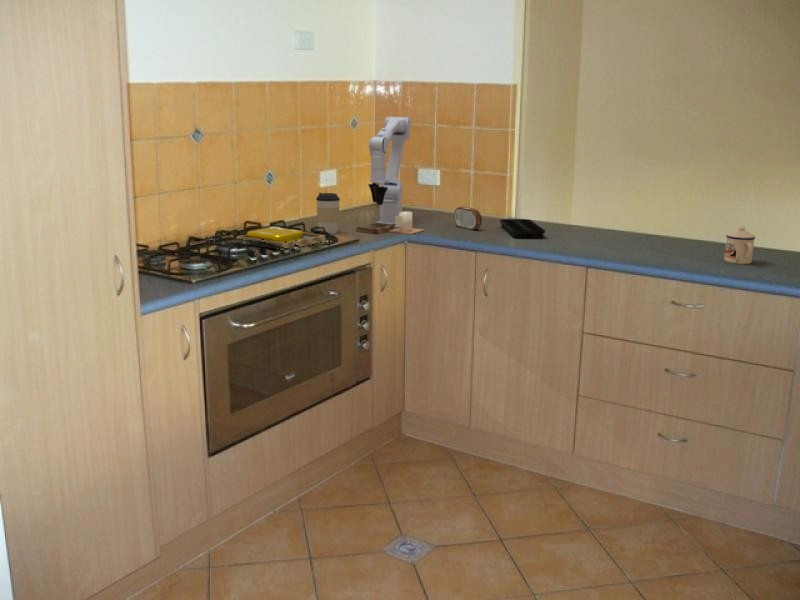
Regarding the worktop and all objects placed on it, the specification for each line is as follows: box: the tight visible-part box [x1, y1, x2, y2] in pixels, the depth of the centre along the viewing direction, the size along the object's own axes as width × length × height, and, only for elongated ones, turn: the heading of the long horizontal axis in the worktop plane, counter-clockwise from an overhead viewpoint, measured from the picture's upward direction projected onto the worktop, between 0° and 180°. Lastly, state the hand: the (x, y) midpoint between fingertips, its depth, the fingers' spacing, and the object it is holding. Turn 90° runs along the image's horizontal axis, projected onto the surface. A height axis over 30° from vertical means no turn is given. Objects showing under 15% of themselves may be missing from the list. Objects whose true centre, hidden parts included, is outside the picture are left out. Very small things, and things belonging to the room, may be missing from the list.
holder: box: [356, 223, 394, 235], centre depth 334 cm, size 11×9×2 cm
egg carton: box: [499, 218, 546, 240], centre depth 338 cm, size 18×30×4 cm, turn 16°
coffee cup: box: [315, 192, 341, 235], centre depth 327 cm, size 9×9×15 cm
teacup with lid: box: [723, 226, 756, 265], centre depth 287 cm, size 12×9×12 cm
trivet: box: [388, 227, 426, 236], centre depth 334 cm, size 10×10×1 cm
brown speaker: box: [453, 205, 483, 231], centre depth 344 cm, size 15×3×8 cm, turn 34°
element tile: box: [246, 226, 304, 243], centre depth 306 cm, size 15×15×5 cm
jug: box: [394, 210, 413, 231], centre depth 332 cm, size 8×5×7 cm, turn 132°
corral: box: [236, 231, 326, 248], centre depth 305 cm, size 22×22×2 cm
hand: (377, 203), depth 338 cm, fingers open, 7 cm apart
